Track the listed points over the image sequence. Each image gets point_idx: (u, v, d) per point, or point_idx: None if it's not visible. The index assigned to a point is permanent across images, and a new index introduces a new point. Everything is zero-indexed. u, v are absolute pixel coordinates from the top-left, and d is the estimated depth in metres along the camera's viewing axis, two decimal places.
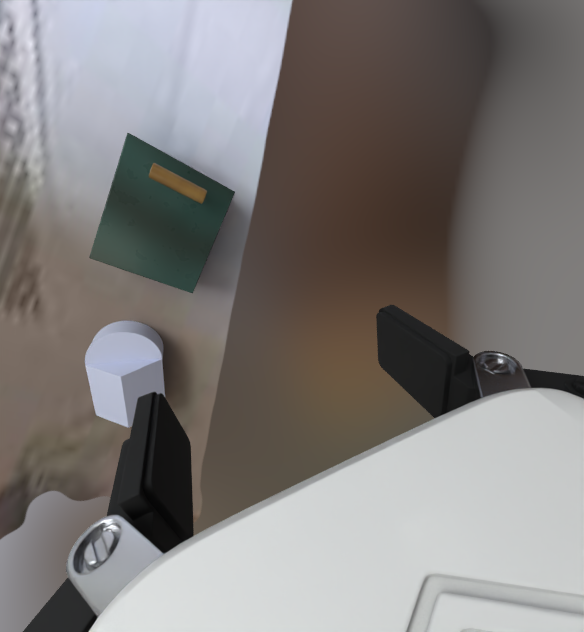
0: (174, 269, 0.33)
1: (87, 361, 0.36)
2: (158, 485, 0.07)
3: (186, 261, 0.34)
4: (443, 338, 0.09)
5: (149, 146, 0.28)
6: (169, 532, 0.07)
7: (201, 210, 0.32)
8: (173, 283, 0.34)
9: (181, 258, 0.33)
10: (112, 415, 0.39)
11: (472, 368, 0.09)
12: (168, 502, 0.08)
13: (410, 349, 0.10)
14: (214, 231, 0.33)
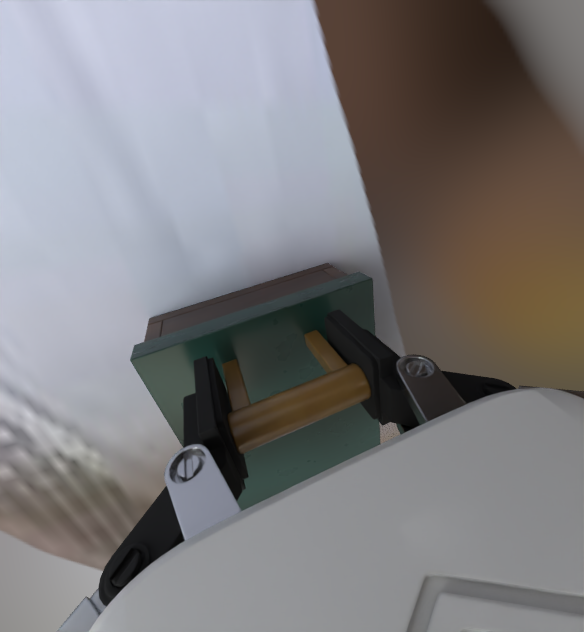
0: (341, 447, 0.18)
1: None
2: (226, 425, 0.09)
3: (352, 427, 0.18)
4: (374, 342, 0.10)
5: (182, 346, 0.12)
6: (234, 466, 0.09)
7: None
8: None
9: (342, 430, 0.18)
10: None
11: (396, 371, 0.09)
12: (232, 441, 0.09)
13: (349, 352, 0.11)
14: None
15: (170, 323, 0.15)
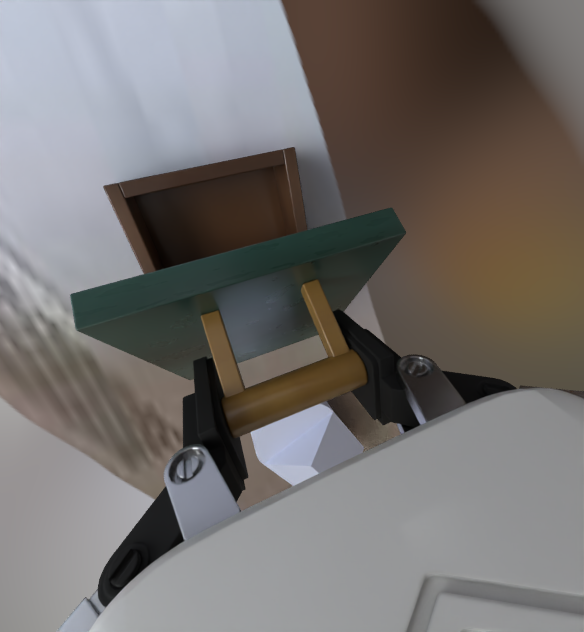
0: (297, 336, 0.20)
1: (263, 460, 0.29)
2: (225, 425, 0.09)
3: (312, 326, 0.19)
4: (374, 342, 0.10)
5: (150, 311, 0.09)
6: (233, 466, 0.09)
7: (323, 292, 0.13)
8: (299, 340, 0.22)
9: (303, 329, 0.19)
10: None
11: (396, 370, 0.09)
12: (232, 441, 0.09)
13: None
14: (354, 292, 0.15)
15: None
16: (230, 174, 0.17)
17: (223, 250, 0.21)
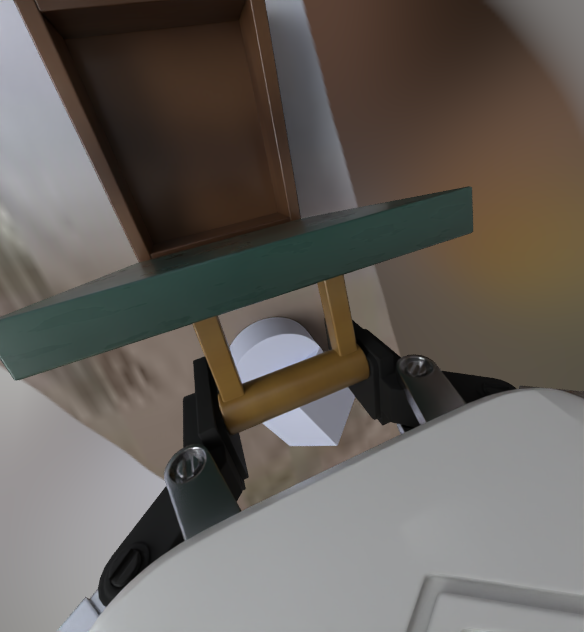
0: None
1: None
2: (225, 425, 0.09)
3: None
4: (374, 342, 0.10)
5: None
6: (234, 466, 0.09)
7: None
8: None
9: None
10: (309, 440, 0.28)
11: (396, 371, 0.09)
12: (232, 441, 0.09)
13: None
14: None
15: None
16: None
17: (183, 132, 0.18)
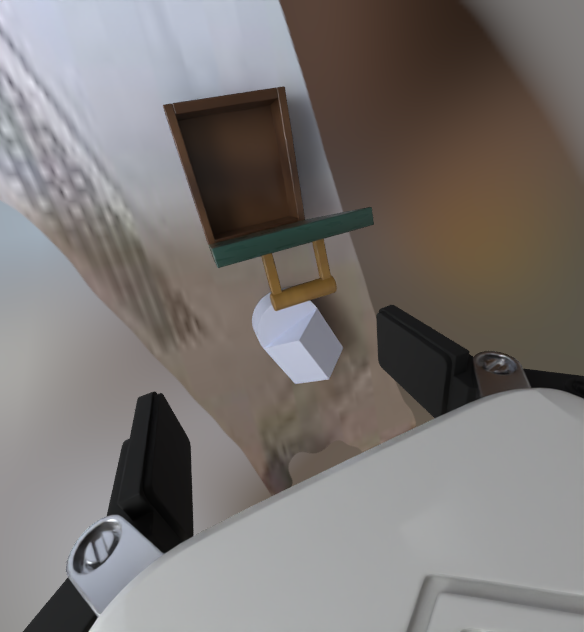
0: None
1: (263, 344, 0.38)
2: (158, 485, 0.07)
3: None
4: (443, 338, 0.09)
5: (248, 259, 0.18)
6: (169, 532, 0.07)
7: None
8: None
9: None
10: (309, 376, 0.40)
11: (472, 368, 0.09)
12: (168, 502, 0.08)
13: (410, 349, 0.10)
14: None
15: None
16: (242, 102, 0.26)
17: (235, 167, 0.30)
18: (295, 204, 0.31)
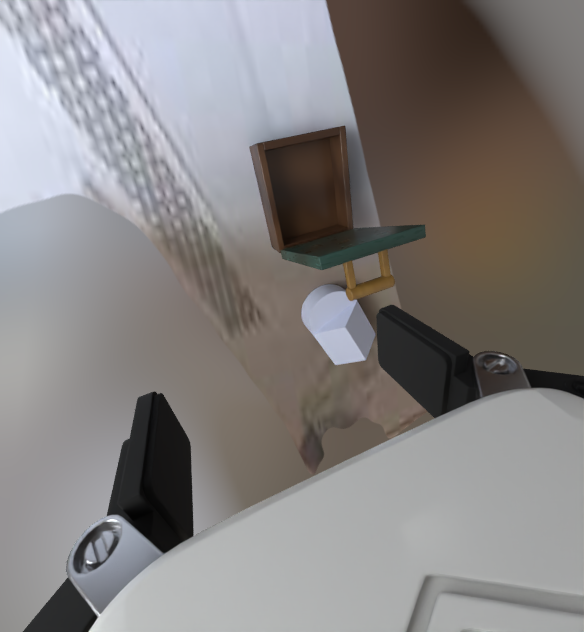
0: None
1: (312, 331, 0.45)
2: (158, 485, 0.07)
3: None
4: (443, 338, 0.09)
5: (341, 263, 0.25)
6: (169, 532, 0.07)
7: None
8: None
9: None
10: (349, 358, 0.48)
11: (472, 368, 0.09)
12: (168, 502, 0.08)
13: (410, 349, 0.10)
14: None
15: None
16: (313, 139, 0.33)
17: (299, 187, 0.37)
18: (346, 216, 0.38)
